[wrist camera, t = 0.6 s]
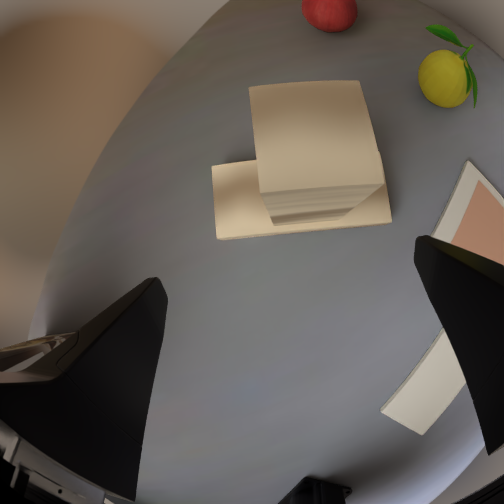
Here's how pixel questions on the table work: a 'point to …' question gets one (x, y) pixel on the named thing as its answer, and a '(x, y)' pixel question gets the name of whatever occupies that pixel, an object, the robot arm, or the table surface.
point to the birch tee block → (304, 165)
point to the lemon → (446, 73)
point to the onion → (330, 14)
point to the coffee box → (28, 352)
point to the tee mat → (441, 352)
